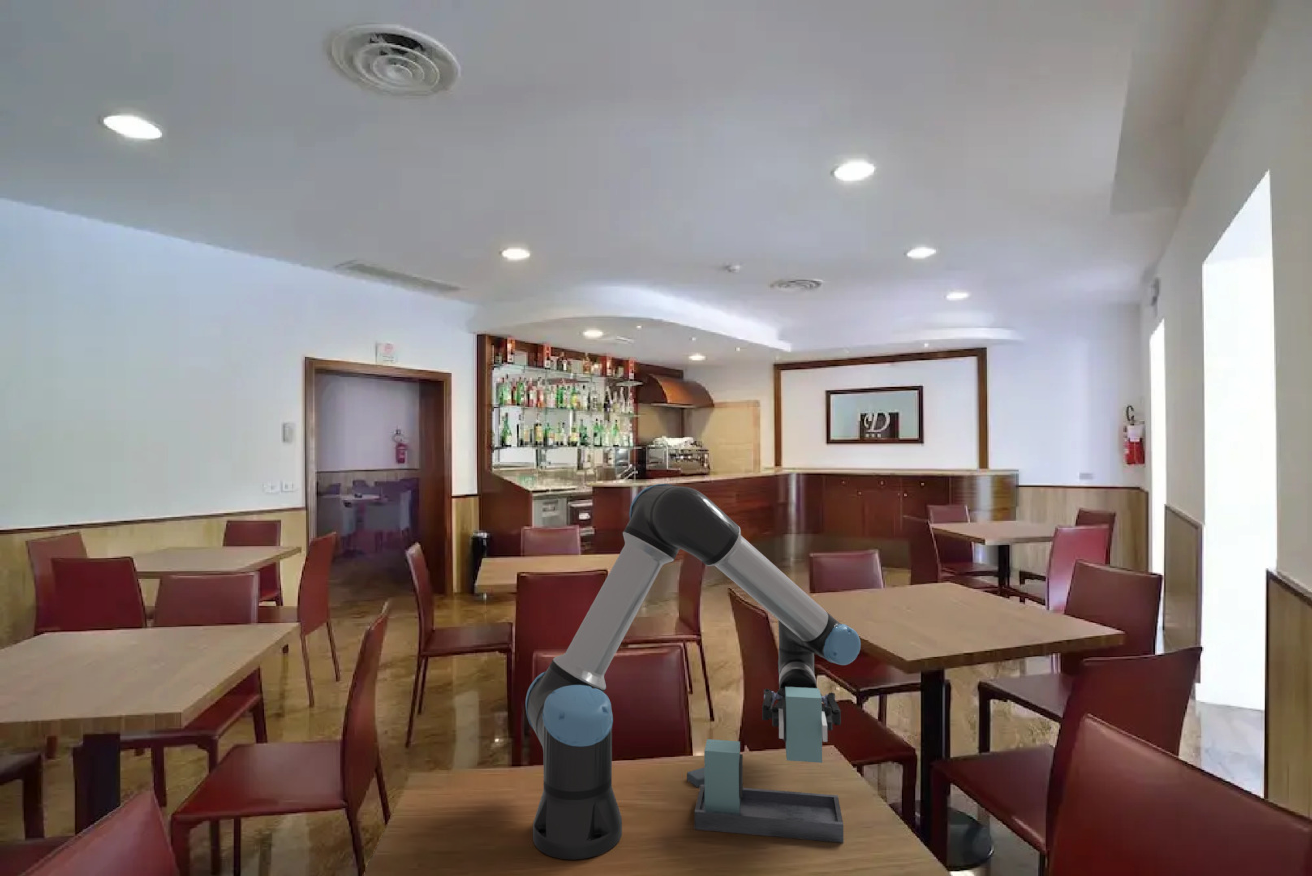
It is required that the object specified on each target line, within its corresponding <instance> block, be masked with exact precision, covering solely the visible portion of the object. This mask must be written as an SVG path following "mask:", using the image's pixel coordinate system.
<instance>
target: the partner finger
mask: <svg viewBox="0 0 1312 876" xmlns="http://www.w3.org/2000/svg"><path fill="white" fill-rule="evenodd" d="M703 755H704V761H703V763H704V767H705V810H709V811H720V812H732V813H739V810H740V798H742V791H743V788H744V787H743V785H744V782H743V781H744V780H743V779H744V774H743V772H744V769H743V767H744V766H743V760H744V759H743V753H742V754H741V740H740V741H739V740H738V741H737V740H726V739H725V740H723V739H711V738H710V739H708V738H707V739H706V743H705V747H704V754H703Z"/></svg>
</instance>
